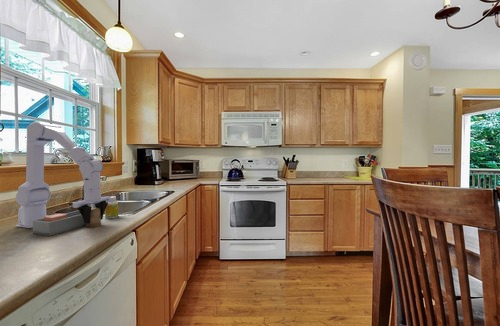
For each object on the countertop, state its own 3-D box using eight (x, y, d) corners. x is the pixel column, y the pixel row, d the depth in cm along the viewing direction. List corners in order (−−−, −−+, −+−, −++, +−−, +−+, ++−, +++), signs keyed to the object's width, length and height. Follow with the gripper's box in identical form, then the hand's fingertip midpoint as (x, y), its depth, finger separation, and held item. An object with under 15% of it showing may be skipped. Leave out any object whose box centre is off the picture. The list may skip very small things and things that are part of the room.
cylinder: (83, 227, 91) (83, 210, 91) (95, 223, 96) (94, 207, 96) (92, 228, 90) (91, 210, 89) (103, 224, 94) (102, 208, 94)
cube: (44, 229, 85) (43, 216, 85) (59, 225, 90) (58, 213, 90) (53, 230, 84) (52, 217, 84) (67, 226, 89) (67, 214, 88)
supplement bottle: (112, 219, 102) (111, 198, 102) (102, 218, 103) (101, 198, 103) (121, 216, 108) (120, 196, 107) (111, 215, 109) (110, 195, 108)
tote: (33, 233, 84) (32, 220, 84) (83, 220, 101) (82, 209, 101) (49, 236, 81) (48, 222, 81) (97, 221, 98) (97, 210, 98)
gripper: (81, 191, 84) (82, 227, 85) (115, 186, 98) (116, 217, 98) (68, 191, 86) (69, 225, 87) (103, 186, 100) (104, 216, 101)
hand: (93, 221), depth 93 cm, fingers closed on cylinder, 5 cm apart
